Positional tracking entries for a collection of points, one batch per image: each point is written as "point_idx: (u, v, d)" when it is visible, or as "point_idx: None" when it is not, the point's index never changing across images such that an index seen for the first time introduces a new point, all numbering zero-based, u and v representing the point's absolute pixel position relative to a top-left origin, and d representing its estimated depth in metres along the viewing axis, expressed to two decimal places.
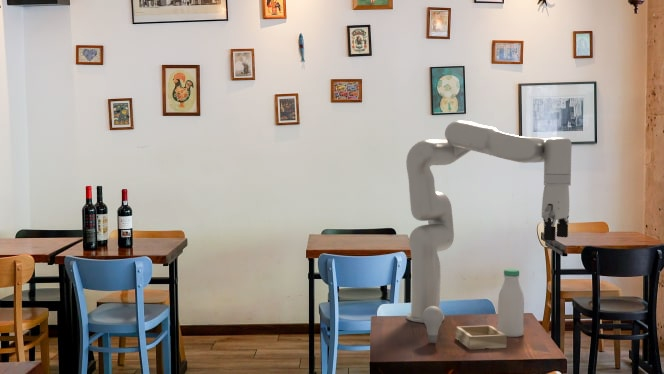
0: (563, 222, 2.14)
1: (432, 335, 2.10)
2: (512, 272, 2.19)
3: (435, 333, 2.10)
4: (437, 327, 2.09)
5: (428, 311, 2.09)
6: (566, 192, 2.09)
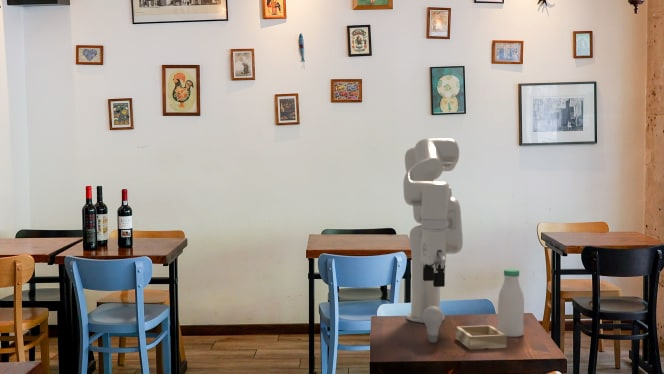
0: (429, 266, 2.15)
1: (432, 335, 2.10)
2: (512, 272, 2.19)
3: (435, 333, 2.10)
4: (437, 327, 2.09)
5: (428, 311, 2.09)
6: None
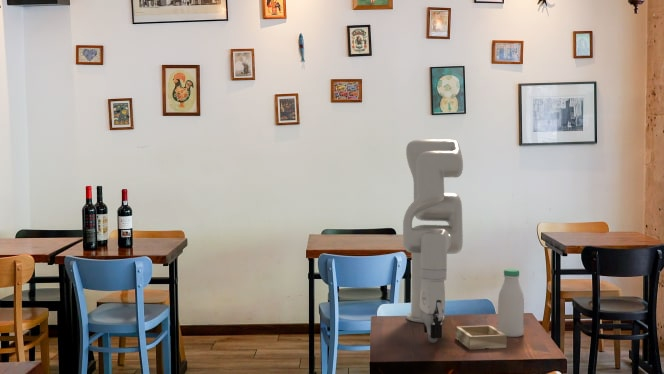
0: None
1: None
2: (512, 272, 2.19)
3: None
4: None
5: None
6: None
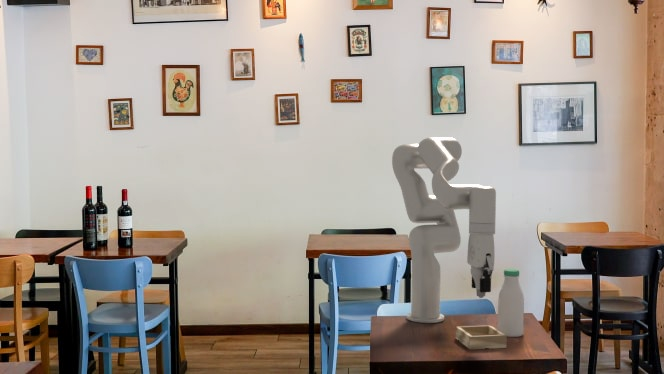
0: None
1: None
2: (512, 272, 2.19)
3: None
4: None
5: None
6: None
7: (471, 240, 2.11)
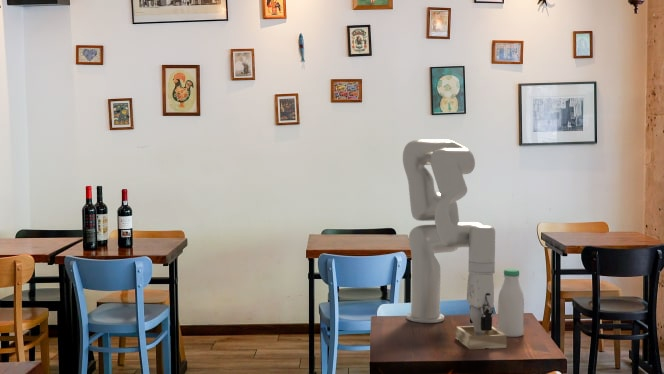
0: None
1: (479, 332, 2.11)
2: (512, 272, 2.19)
3: None
4: None
5: (475, 308, 2.10)
6: None
7: (470, 279, 2.11)
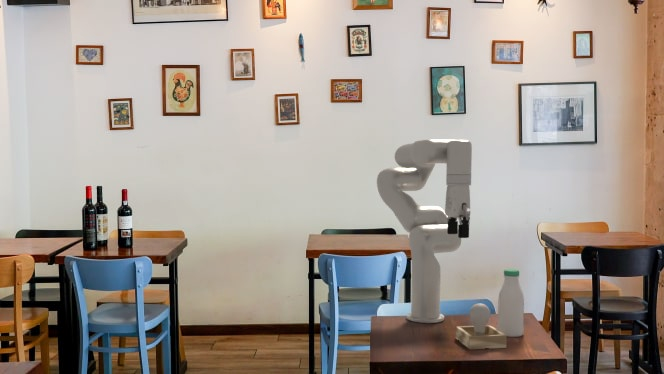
0: (454, 220, 2.26)
1: (479, 332, 2.11)
2: (512, 272, 2.19)
3: (482, 330, 2.11)
4: (484, 324, 2.11)
5: (475, 308, 2.10)
6: None
7: (448, 191, 2.21)
